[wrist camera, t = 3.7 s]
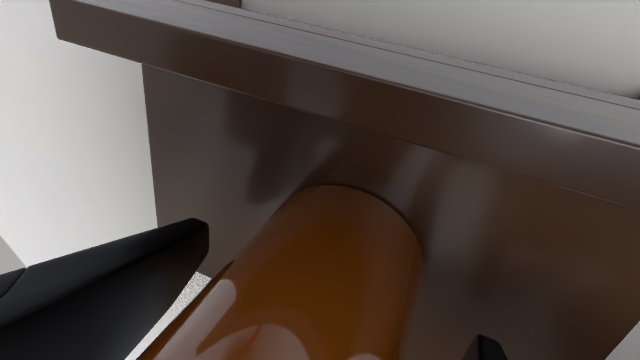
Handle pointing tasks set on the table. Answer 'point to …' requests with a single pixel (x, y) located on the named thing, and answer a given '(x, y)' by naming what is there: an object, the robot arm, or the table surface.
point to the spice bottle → (308, 287)
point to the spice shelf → (395, 163)
